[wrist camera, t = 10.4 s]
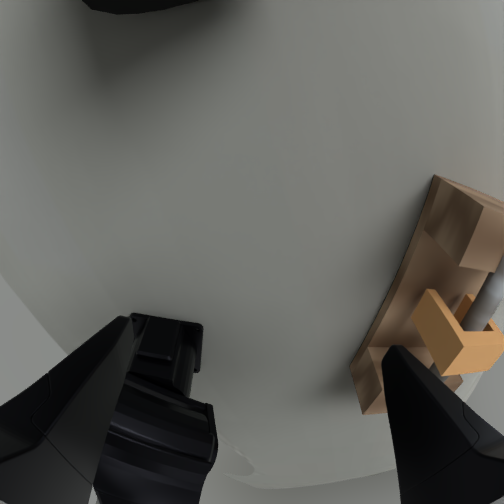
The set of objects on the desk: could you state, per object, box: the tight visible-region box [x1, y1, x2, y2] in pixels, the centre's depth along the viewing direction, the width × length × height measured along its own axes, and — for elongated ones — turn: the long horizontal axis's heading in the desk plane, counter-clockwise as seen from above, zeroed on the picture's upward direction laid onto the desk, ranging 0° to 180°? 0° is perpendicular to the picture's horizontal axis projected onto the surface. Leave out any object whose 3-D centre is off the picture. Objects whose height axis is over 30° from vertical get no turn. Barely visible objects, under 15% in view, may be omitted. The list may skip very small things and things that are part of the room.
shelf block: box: [350, 174, 504, 415], centre depth 21 cm, size 20×10×7 cm, turn 171°
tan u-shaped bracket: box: [411, 289, 504, 376], centre depth 19 cm, size 6×3×6 cm, turn 80°
